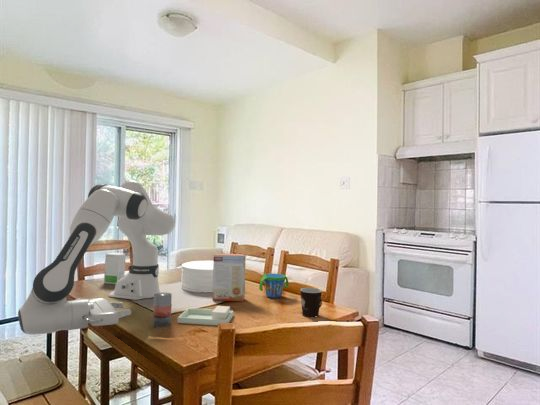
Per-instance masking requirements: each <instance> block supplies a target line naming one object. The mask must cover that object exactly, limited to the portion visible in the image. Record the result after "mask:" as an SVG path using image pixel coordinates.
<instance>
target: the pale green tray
mask: <svg viewBox="0 0 540 405" xmlns="http://www.w3.org/2000/svg"><path fill="white" fill-rule="evenodd" d="M213 310H214V309H213V308H212V309H209V308H195V307H194V308H193V307H191V308H190V307H188V308H187V309H185V310H184V311H183V312H182V313H180V315H179V316H178V317H177V324H188V325H189V324H191V325H192V324H193V325H206V326H219V325H218V324H219V323H228V324H229V323H230V322H231V320H232V318H234V310H230V314H229V316H228V317H227V319H226V320H221V319H212V311H213Z"/></svg>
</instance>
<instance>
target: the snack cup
mask: <svg viewBox="0 0 540 405" xmlns="http://www.w3.org/2000/svg"><path fill="white" fill-rule="evenodd" d="M263 283H264V284H263ZM263 285H264V286H263ZM264 288H265V295H266V297H267V298H271V299H277V298H282V296H283V290H284V288H285V289H288V288H289V279H288V277H287V276H286V275H285V274H283V273H265V274H263V277H262V278H261V279H260V281H259V290H260V292H263V291H264V290H263V289H264Z"/></svg>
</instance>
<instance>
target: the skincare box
mask: <svg viewBox="0 0 540 405" xmlns="http://www.w3.org/2000/svg"><path fill="white" fill-rule="evenodd" d="M125 272H126V253H123V252H122V253H121V252H114V251H113V252H108V253H105V259H104V274H103V276H104V277H103V283H104V284H109V285H110V284H111V285H116V283H117V281H118V280H120V279H121V278H122V277H124V276H125Z"/></svg>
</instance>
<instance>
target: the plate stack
mask: <svg viewBox="0 0 540 405" xmlns="http://www.w3.org/2000/svg"><path fill="white" fill-rule="evenodd" d="M213 263H214V260H191V261H188V262H187V261H186V262H184V263H182V264H181V270H180V271H181V276H180V277H181V279H180V282H181V284H180V288H181V289H182V290H184V291H186V292H187V291H188V292H193V293H201V292H205V294H207V293H206V292H213Z"/></svg>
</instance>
